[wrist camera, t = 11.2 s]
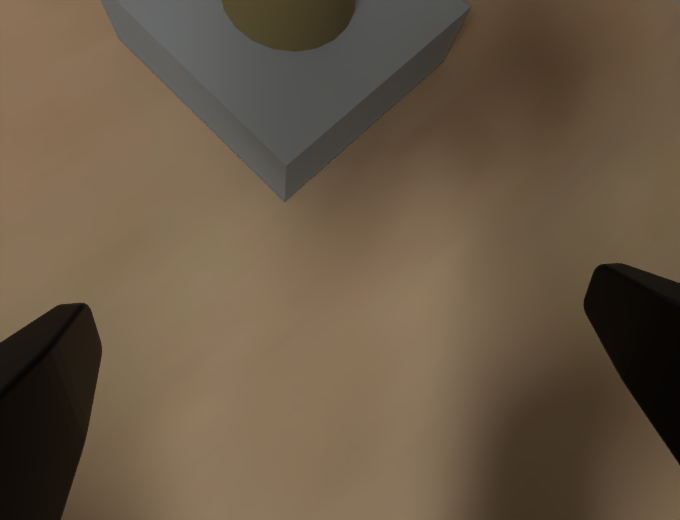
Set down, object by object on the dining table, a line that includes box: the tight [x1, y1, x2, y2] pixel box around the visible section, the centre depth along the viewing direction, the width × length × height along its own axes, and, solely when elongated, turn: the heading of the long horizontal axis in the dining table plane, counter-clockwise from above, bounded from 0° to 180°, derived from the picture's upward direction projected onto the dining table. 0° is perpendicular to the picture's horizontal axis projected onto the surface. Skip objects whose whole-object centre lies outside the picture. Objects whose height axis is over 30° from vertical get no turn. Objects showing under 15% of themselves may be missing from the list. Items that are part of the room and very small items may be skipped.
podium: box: [101, 0, 471, 202], centre depth 23 cm, size 12×12×4 cm
